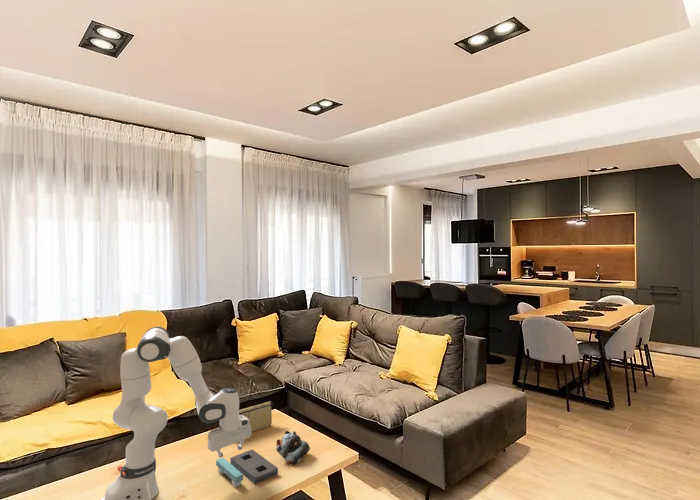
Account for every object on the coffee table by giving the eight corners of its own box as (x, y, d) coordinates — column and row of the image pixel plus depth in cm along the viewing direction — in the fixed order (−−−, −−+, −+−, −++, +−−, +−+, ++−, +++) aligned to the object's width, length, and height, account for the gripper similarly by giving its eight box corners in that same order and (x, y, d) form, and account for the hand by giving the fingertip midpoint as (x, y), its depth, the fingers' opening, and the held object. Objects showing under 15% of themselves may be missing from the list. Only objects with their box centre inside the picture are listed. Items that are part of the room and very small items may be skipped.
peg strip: (236, 488, 178) (236, 477, 178) (216, 470, 193) (216, 460, 193) (243, 485, 180) (243, 474, 180) (223, 467, 195) (223, 457, 195)
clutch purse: (268, 422, 246) (268, 397, 246) (274, 426, 241) (274, 401, 241) (221, 437, 227) (221, 410, 227) (226, 441, 221) (226, 414, 221)
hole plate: (255, 484, 181) (255, 478, 181) (230, 463, 199) (230, 457, 199) (277, 474, 189) (277, 468, 189) (252, 455, 207) (252, 449, 207)
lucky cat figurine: (293, 468, 194) (279, 442, 195) (281, 468, 202) (268, 443, 203) (314, 448, 205) (301, 423, 206) (302, 449, 213) (290, 425, 214)
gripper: (210, 433, 177) (211, 464, 177) (252, 418, 190) (253, 447, 191) (204, 428, 181) (205, 458, 182) (246, 414, 195) (246, 442, 196)
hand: (230, 452), depth 187 cm, fingers open, 8 cm apart
